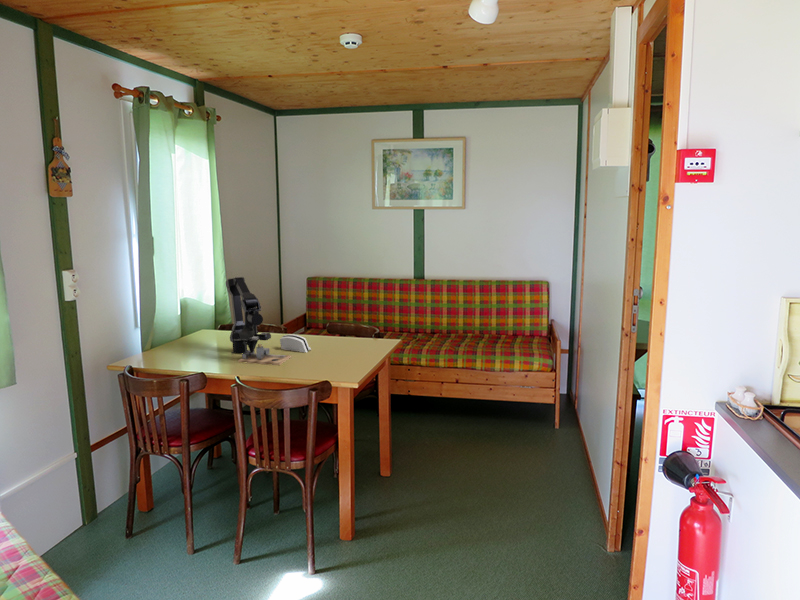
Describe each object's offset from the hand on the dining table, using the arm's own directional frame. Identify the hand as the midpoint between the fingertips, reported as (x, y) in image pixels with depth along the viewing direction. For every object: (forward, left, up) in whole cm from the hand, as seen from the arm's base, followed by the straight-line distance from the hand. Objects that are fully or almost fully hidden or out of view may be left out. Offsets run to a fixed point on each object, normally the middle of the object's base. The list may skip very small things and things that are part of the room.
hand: (252, 352), depth 281 cm
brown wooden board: (+6, +2, -4) cm, 7 cm away
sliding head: (+5, +2, -3) cm, 6 cm away
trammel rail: (+5, +2, -3) cm, 7 cm away
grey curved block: (+13, +24, -5) cm, 28 cm away
